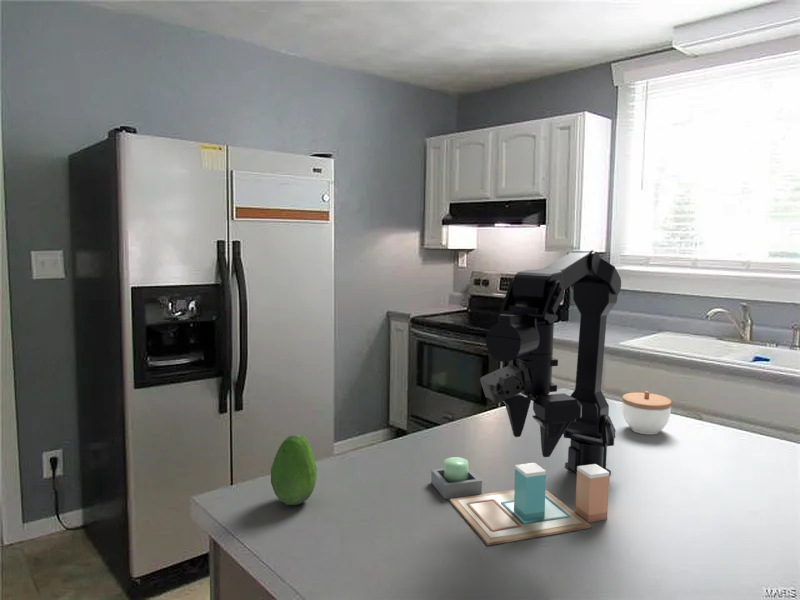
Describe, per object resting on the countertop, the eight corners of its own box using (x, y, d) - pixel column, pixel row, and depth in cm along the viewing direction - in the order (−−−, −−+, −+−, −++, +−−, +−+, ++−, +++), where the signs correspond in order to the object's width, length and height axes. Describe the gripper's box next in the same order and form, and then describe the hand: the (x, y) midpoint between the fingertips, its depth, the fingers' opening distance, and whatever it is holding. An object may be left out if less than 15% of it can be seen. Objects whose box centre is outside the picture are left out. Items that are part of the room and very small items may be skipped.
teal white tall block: (533, 508, 97) (534, 462, 97) (544, 518, 94) (546, 471, 93) (513, 511, 96) (515, 465, 95) (524, 521, 93) (526, 473, 92)
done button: (462, 471, 109) (462, 456, 108) (472, 481, 105) (472, 465, 104) (440, 474, 108) (440, 458, 107) (449, 484, 103) (449, 467, 103)
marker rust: (593, 509, 98) (595, 463, 98) (607, 519, 95) (609, 472, 94) (575, 511, 97) (577, 466, 96) (588, 522, 94) (590, 474, 93)
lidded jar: (678, 438, 132) (680, 398, 131) (630, 438, 132) (632, 398, 131) (657, 423, 143) (660, 385, 142) (614, 422, 143) (616, 385, 142)
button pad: (465, 477, 111) (466, 465, 110) (481, 493, 104) (481, 480, 104) (431, 482, 109) (431, 469, 108) (445, 498, 102) (445, 485, 102)
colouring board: (541, 488, 106) (541, 484, 106) (590, 527, 92) (591, 523, 92) (449, 501, 101) (449, 497, 101) (487, 545, 87) (487, 541, 87)
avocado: (325, 496, 103) (324, 430, 102) (303, 516, 96) (302, 446, 94) (285, 489, 106) (284, 425, 104) (261, 508, 98) (259, 440, 97)
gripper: (463, 343, 98) (462, 432, 100) (517, 367, 81) (514, 475, 83) (522, 339, 102) (519, 426, 104) (586, 362, 84) (581, 466, 86)
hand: (531, 446), depth 94 cm, fingers open, 9 cm apart
